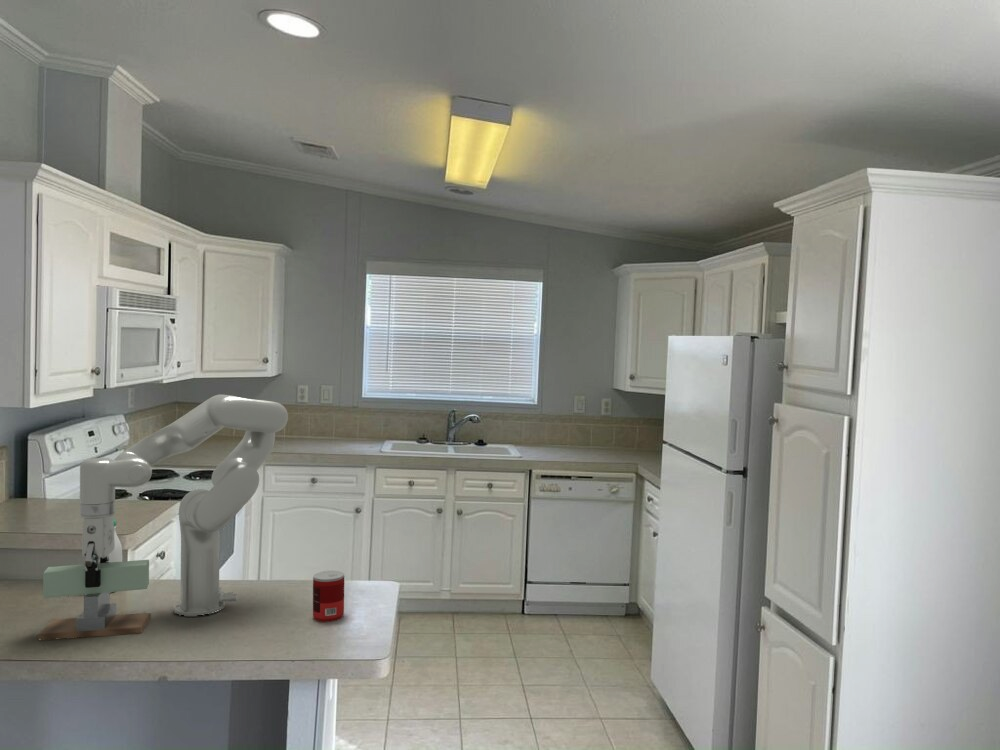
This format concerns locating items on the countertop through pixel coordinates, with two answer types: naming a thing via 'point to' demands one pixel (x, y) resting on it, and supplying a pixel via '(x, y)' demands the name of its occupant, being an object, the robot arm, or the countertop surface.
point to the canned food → (328, 596)
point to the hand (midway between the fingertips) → (97, 581)
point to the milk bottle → (115, 549)
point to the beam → (112, 578)
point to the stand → (96, 621)
